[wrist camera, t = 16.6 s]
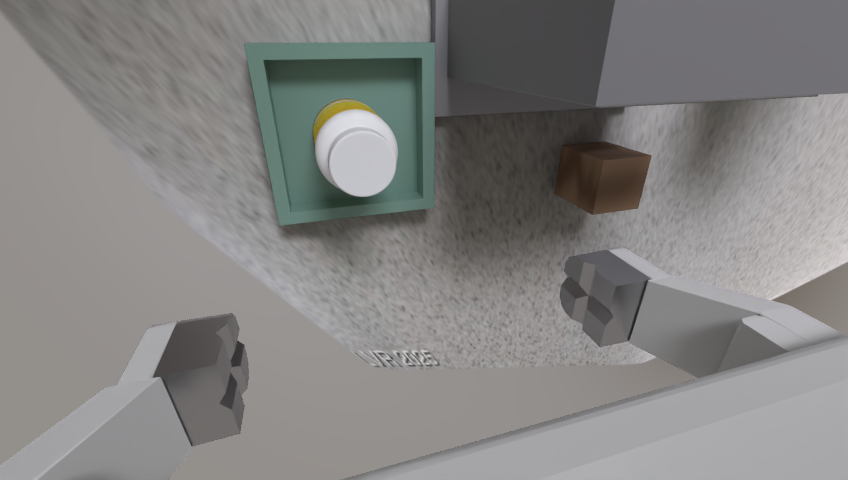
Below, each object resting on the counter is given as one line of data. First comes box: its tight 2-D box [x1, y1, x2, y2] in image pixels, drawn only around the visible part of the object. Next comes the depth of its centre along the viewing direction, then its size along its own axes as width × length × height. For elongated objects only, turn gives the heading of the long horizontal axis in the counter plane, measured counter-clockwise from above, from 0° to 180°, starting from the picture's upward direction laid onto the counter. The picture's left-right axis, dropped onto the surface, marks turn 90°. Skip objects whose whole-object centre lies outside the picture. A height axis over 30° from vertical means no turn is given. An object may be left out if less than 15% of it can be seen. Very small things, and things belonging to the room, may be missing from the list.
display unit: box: [432, 0, 848, 117], centre depth 24 cm, size 12×20×19 cm, turn 90°
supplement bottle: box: [313, 98, 398, 197], centre depth 27 cm, size 5×5×10 cm
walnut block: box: [555, 142, 651, 215], centre depth 37 cm, size 5×5×6 cm
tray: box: [244, 42, 435, 226], centre depth 30 cm, size 13×13×2 cm
